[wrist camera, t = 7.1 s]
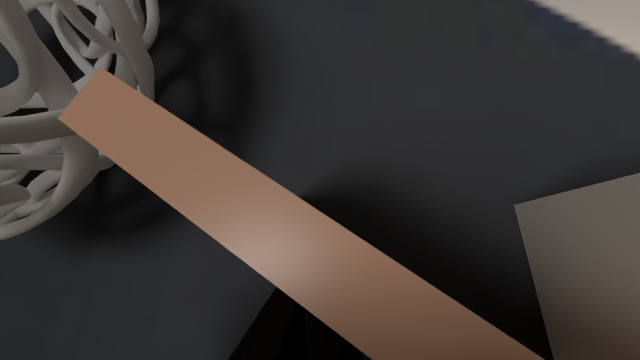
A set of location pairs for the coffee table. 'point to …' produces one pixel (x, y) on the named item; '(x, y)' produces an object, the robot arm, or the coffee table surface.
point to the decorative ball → (61, 99)
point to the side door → (283, 234)
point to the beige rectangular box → (587, 268)
